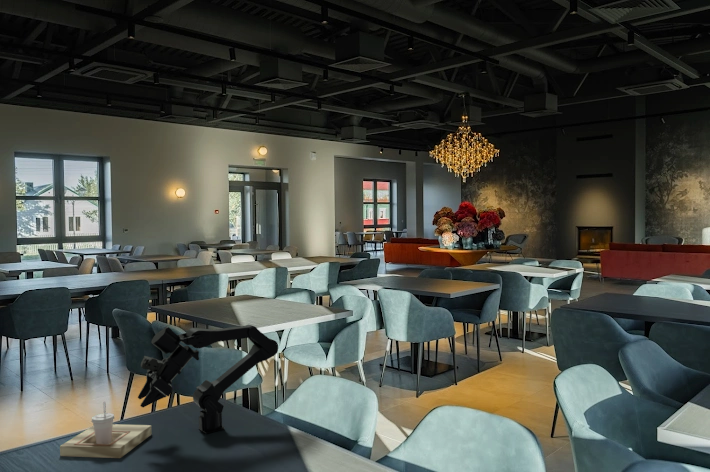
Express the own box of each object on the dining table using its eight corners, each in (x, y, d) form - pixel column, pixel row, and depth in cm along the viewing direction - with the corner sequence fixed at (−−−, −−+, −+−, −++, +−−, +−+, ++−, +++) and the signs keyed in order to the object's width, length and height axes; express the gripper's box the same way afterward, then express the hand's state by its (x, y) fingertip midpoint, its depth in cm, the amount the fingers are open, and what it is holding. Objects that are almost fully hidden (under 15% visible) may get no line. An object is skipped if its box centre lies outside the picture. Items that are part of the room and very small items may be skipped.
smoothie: (115, 449, 177) (113, 403, 176) (92, 453, 175) (90, 406, 174) (115, 442, 183) (114, 397, 182) (93, 445, 181) (91, 400, 180)
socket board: (96, 432, 192) (96, 423, 192) (151, 434, 189) (151, 424, 189) (60, 456, 173) (59, 445, 173) (120, 458, 170) (120, 447, 170)
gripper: (152, 341, 192) (117, 379, 188) (159, 352, 175) (121, 394, 171) (178, 362, 195) (144, 400, 191) (187, 375, 178) (150, 417, 174)
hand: (140, 402), depth 182 cm, fingers open, 9 cm apart
